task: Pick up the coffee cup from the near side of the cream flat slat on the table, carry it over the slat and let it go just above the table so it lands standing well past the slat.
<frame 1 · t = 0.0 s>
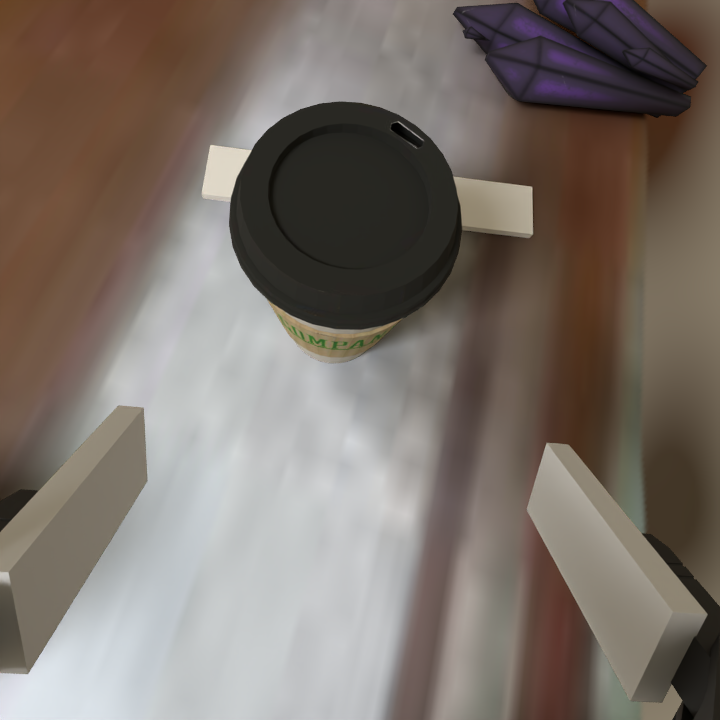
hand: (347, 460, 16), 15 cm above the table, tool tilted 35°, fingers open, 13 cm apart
coffee cup: (333, 320, 33), on the table
crystal: (557, 78, 41), on the table
cream flat slat: (372, 194, 36), on the table
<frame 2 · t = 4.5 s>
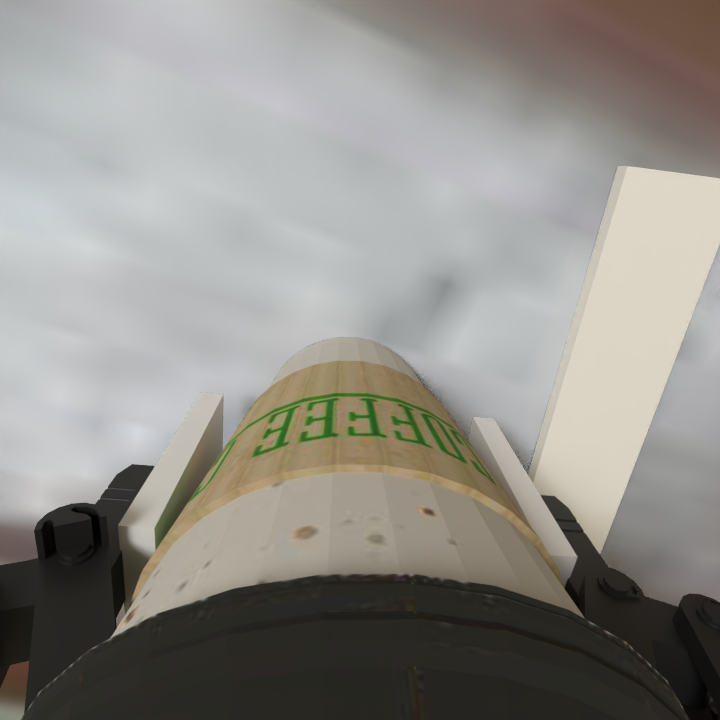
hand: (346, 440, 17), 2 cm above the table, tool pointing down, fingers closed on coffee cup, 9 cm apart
coffee cup: (346, 408, 19), on the table, touching gripper
cream flat slat: (574, 473, 21), on the table
when the fingers open (5 cm above the table, at t = 11.1 s): coffee cup drops 1 cm, point 1 cm above the table.
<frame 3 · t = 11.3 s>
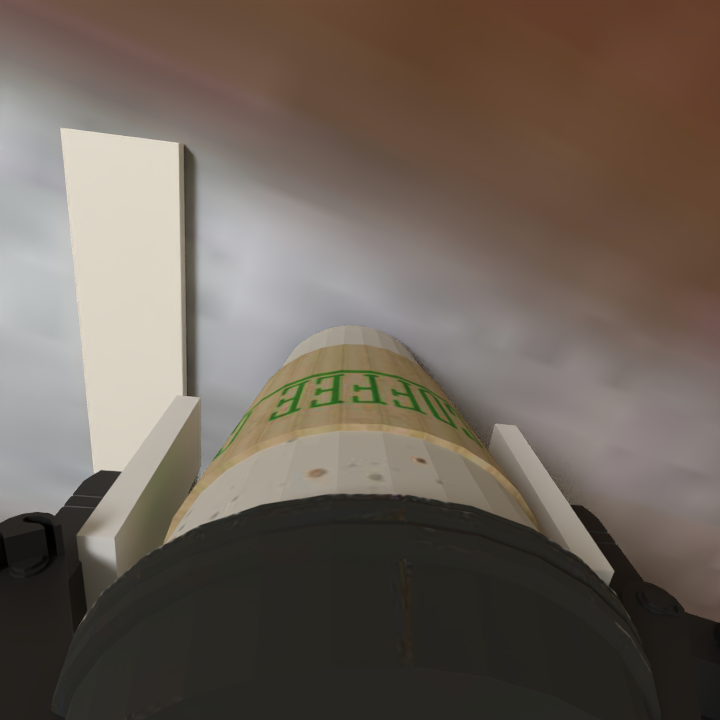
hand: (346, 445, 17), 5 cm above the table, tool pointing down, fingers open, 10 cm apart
coffee cup: (350, 392, 21), point 1 cm above the table, touching gripper
cream flat slat: (142, 427, 22), on the table
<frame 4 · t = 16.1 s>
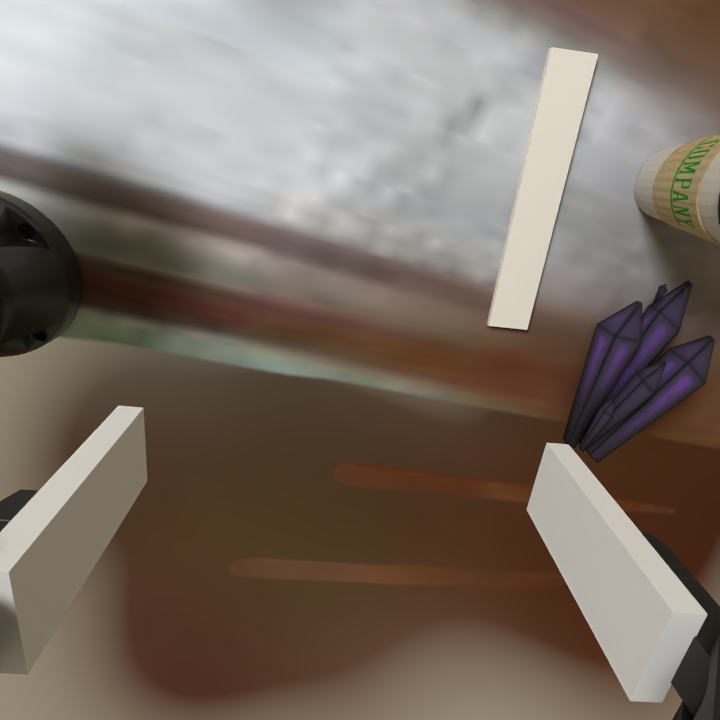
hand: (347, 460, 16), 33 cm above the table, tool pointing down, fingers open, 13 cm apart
coffee cup: (666, 183, 45), on the table
crystal: (616, 362, 51), on the table
cream flat slat: (535, 202, 45), on the table
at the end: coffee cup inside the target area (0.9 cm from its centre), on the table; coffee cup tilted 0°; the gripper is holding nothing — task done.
